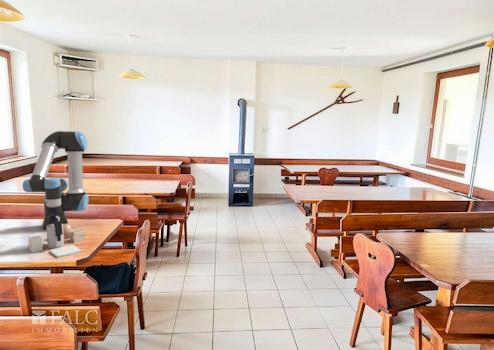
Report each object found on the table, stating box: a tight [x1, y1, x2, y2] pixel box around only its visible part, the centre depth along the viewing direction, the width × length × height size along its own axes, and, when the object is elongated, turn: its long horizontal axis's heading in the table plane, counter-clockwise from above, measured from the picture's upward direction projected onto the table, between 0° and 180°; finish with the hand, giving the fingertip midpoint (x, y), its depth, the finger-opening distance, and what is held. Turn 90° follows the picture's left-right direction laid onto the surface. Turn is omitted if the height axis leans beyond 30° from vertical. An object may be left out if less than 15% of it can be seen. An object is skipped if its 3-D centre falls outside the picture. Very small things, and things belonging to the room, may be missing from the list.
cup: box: [46, 224, 65, 249], centre depth 183 cm, size 8×8×12 cm
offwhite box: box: [28, 235, 44, 253], centre depth 176 cm, size 5×5×7 cm
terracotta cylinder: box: [63, 223, 72, 240], centre depth 196 cm, size 6×6×8 cm
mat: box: [48, 244, 83, 259], centre depth 175 cm, size 12×12×1 cm
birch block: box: [69, 228, 86, 244], centre depth 193 cm, size 6×6×6 cm
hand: (55, 244), depth 184 cm, fingers closed on cup, 8 cm apart
